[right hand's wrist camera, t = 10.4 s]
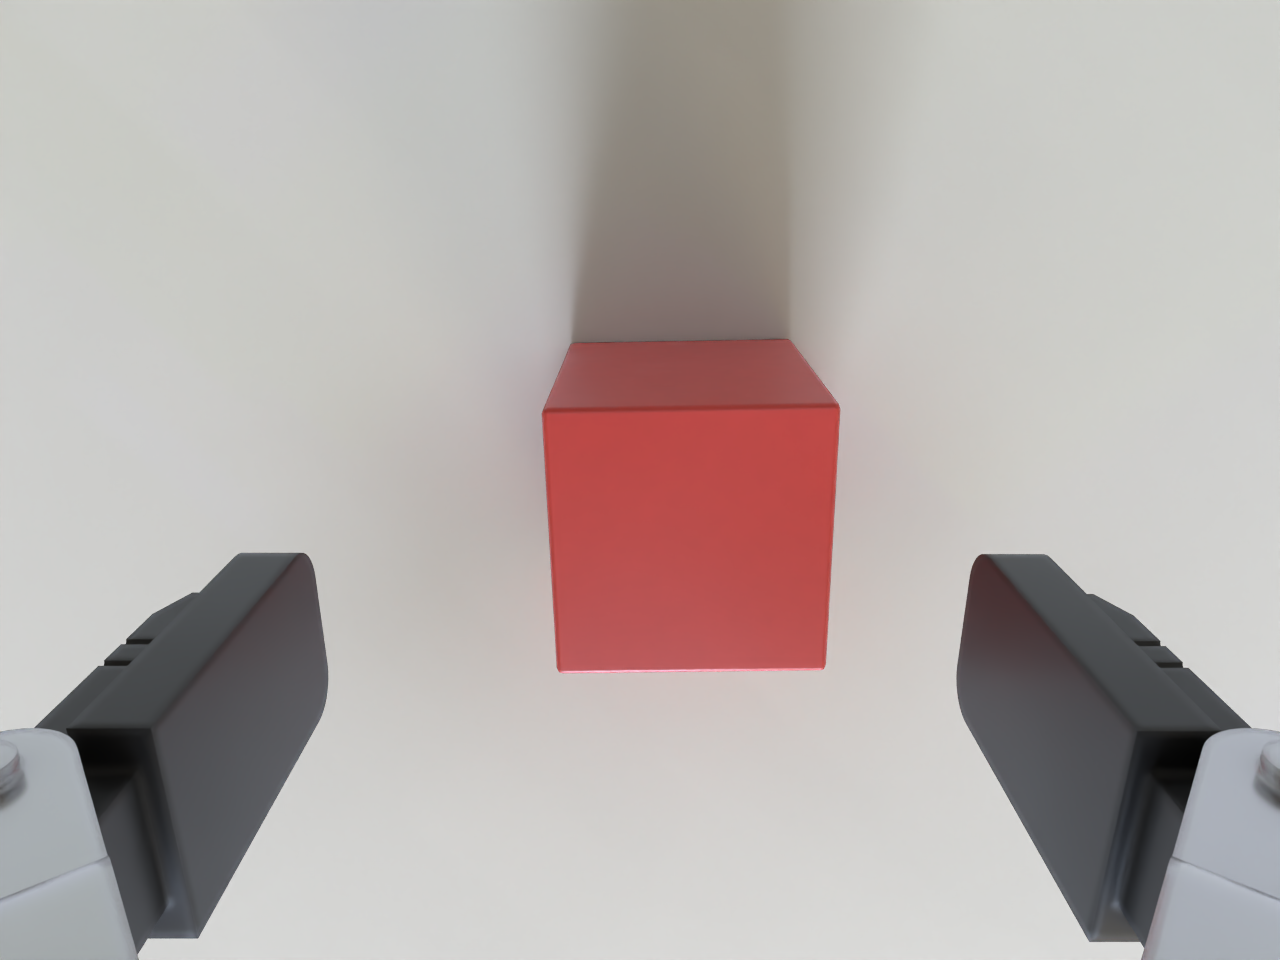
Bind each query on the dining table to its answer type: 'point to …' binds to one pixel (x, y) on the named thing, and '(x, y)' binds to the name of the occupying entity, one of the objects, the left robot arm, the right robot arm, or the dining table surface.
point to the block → (690, 507)
